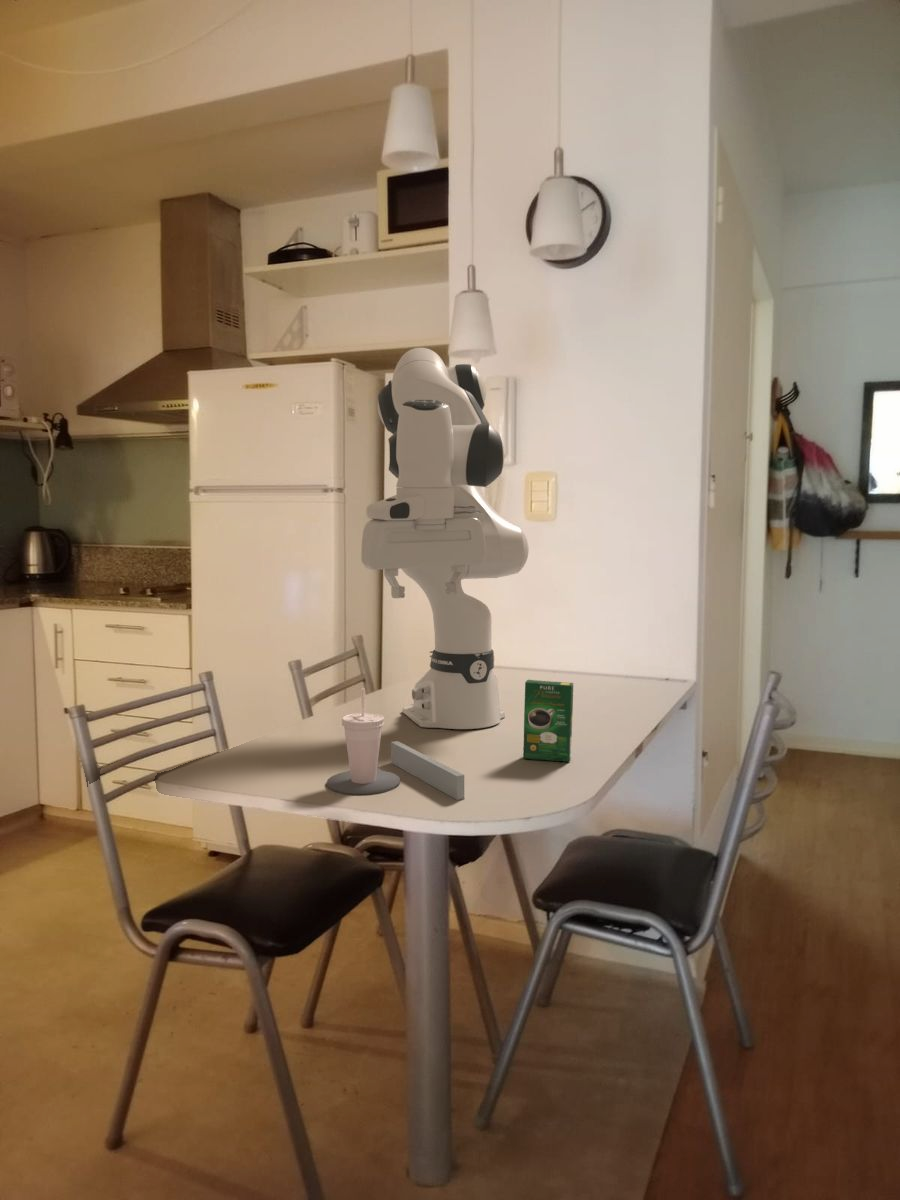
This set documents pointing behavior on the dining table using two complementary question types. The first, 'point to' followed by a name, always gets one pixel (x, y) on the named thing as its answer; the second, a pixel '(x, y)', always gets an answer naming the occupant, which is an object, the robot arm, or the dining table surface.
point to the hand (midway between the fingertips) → (425, 595)
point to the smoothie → (363, 743)
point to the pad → (346, 786)
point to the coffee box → (548, 720)
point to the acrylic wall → (428, 770)
